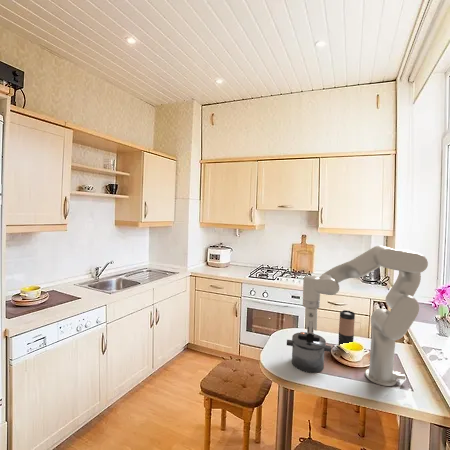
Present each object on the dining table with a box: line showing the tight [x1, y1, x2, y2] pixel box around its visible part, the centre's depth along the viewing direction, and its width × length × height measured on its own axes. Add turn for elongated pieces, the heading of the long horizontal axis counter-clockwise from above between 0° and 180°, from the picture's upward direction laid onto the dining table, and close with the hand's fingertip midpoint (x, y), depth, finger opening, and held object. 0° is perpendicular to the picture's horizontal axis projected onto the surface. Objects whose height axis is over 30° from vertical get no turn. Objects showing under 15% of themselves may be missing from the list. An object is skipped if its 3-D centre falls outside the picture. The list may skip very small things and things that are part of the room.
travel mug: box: [337, 309, 356, 345], centre depth 163 cm, size 8×8×20 cm
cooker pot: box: [286, 339, 332, 374], centre depth 145 cm, size 21×17×11 cm
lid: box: [291, 331, 327, 350], centre depth 145 cm, size 16×16×3 cm
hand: (309, 341), depth 138 cm, fingers closed
